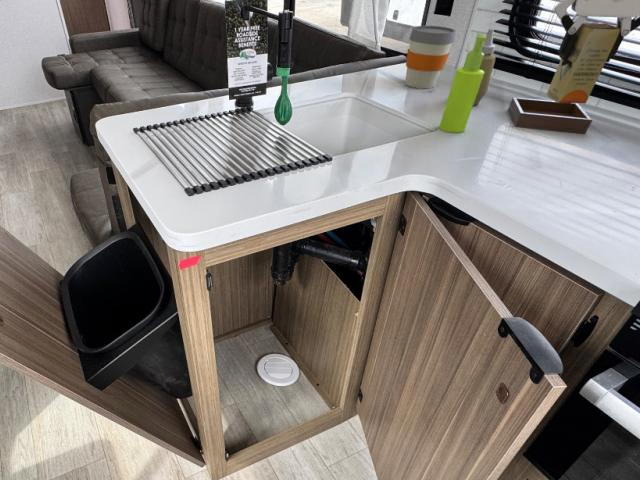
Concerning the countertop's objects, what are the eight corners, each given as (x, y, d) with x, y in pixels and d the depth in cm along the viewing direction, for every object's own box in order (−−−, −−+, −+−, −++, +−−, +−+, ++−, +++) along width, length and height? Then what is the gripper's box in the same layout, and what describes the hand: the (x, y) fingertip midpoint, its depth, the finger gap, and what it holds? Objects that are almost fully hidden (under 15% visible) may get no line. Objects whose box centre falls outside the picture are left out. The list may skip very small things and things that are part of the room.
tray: (571, 116, 115) (578, 103, 113) (585, 133, 105) (592, 120, 103) (507, 110, 118) (512, 97, 116) (515, 126, 109) (520, 113, 107)
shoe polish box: (557, 103, 81) (590, 28, 73) (546, 95, 85) (576, 23, 77) (585, 103, 81) (621, 28, 73) (572, 95, 84) (605, 23, 77)
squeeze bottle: (487, 107, 120) (514, 32, 108) (458, 107, 120) (482, 32, 108) (475, 98, 126) (499, 26, 114) (447, 98, 126) (469, 26, 114)
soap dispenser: (465, 125, 109) (496, 33, 96) (463, 134, 104) (496, 39, 91) (440, 121, 111) (468, 31, 98) (438, 130, 106) (466, 36, 93)
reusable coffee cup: (391, 81, 139) (402, 27, 130) (422, 77, 143) (435, 24, 133) (417, 92, 131) (431, 34, 121) (449, 87, 134) (466, 31, 124)
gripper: (584, -71, 66) (533, 61, 78) (722, -73, 62) (646, 67, 74) (572, -72, 71) (526, 52, 83) (699, -74, 67) (631, 57, 79)
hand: (583, 58), depth 78 cm, fingers closed on shoe polish box, 5 cm apart
